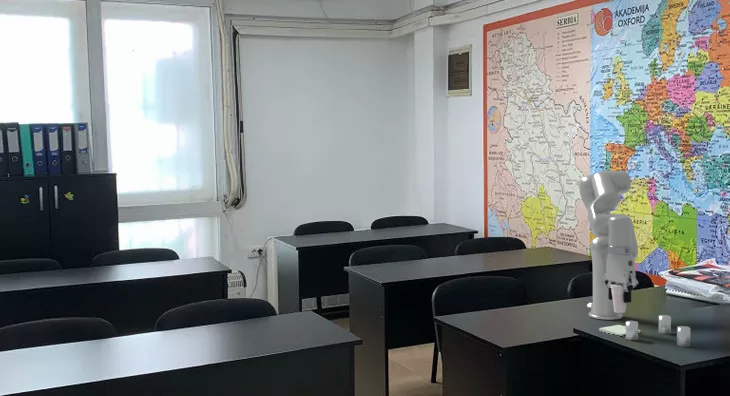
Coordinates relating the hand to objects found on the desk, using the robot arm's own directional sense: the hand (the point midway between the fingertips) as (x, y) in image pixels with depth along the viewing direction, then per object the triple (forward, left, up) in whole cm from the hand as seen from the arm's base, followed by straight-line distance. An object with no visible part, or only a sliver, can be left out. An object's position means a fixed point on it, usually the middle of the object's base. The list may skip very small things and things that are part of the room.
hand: (619, 300), depth 254 cm
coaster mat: (0, 0, -12) cm, 12 cm away
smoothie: (0, 0, -4) cm, 4 cm away
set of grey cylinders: (+16, +4, -11) cm, 20 cm away
